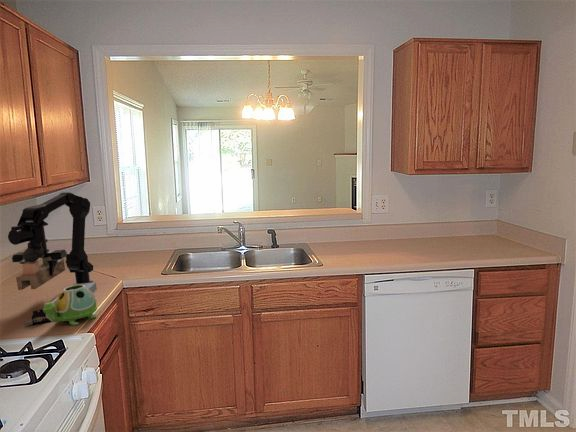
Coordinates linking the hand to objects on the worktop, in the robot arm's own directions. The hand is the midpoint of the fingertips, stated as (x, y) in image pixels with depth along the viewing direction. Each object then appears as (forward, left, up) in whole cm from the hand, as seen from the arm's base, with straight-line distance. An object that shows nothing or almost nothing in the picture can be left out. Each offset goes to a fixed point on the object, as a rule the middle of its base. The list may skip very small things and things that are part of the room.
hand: (42, 276), depth 172 cm
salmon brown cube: (+7, 0, +4) cm, 8 cm away
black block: (+21, +7, -12) cm, 25 cm away
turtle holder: (+22, +20, -11) cm, 31 cm away
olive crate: (-7, 0, +4) cm, 8 cm away
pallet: (0, 0, -1) cm, 1 cm away
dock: (0, +11, -11) cm, 15 cm away
